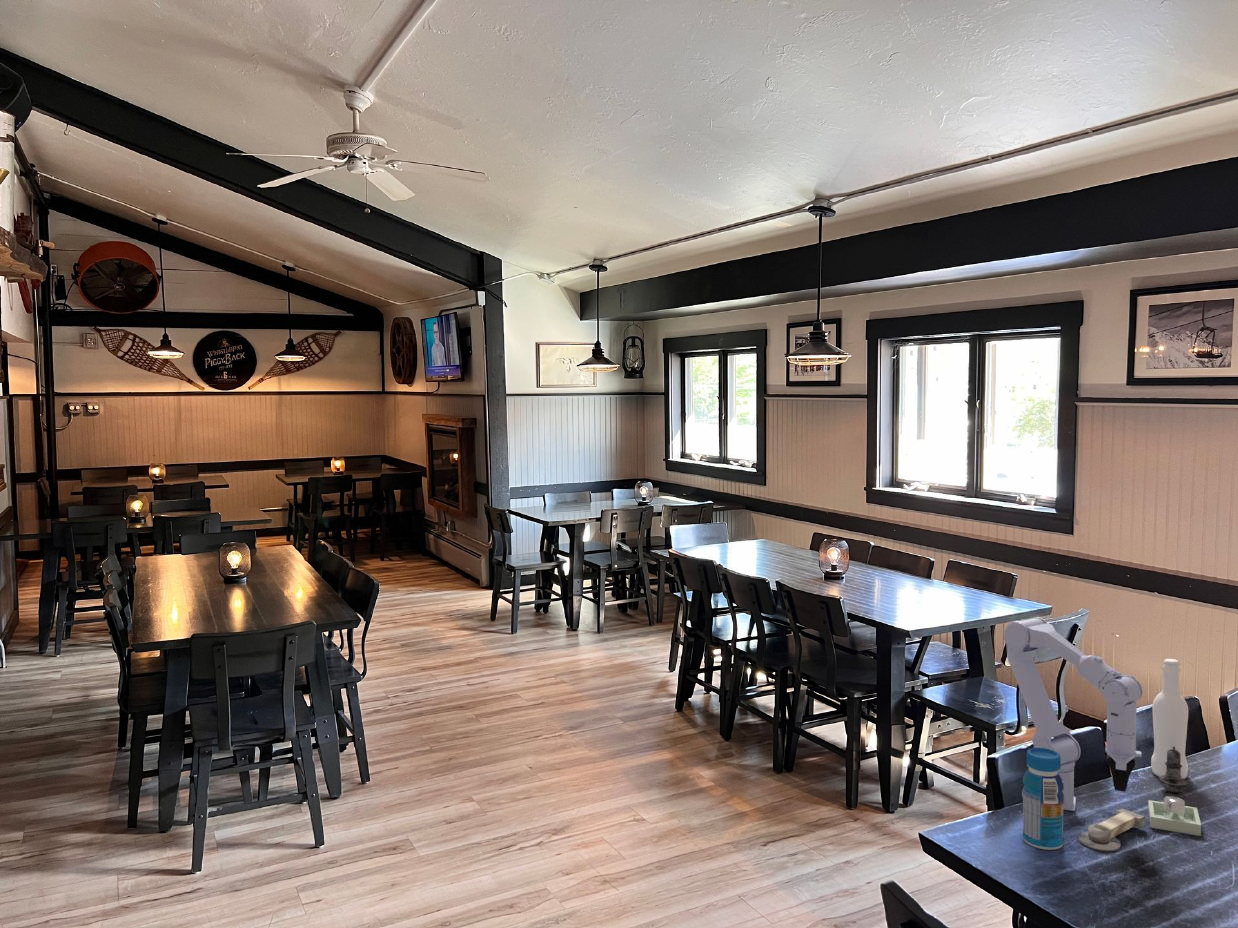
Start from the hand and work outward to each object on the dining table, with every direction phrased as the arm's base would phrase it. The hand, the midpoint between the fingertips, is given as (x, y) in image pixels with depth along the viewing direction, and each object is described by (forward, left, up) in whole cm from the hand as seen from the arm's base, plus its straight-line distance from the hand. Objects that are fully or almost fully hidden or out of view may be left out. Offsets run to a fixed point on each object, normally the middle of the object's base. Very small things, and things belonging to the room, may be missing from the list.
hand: (1120, 789), depth 203 cm
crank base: (-4, -10, -9) cm, 14 cm away
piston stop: (+11, +8, -8) cm, 16 cm away
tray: (+11, +8, -9) cm, 16 cm away
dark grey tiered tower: (+12, +25, -9) cm, 29 cm away
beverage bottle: (-15, -15, -9) cm, 23 cm away
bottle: (+12, +38, -9) cm, 41 cm away
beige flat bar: (-1, -5, -8) cm, 9 cm away
